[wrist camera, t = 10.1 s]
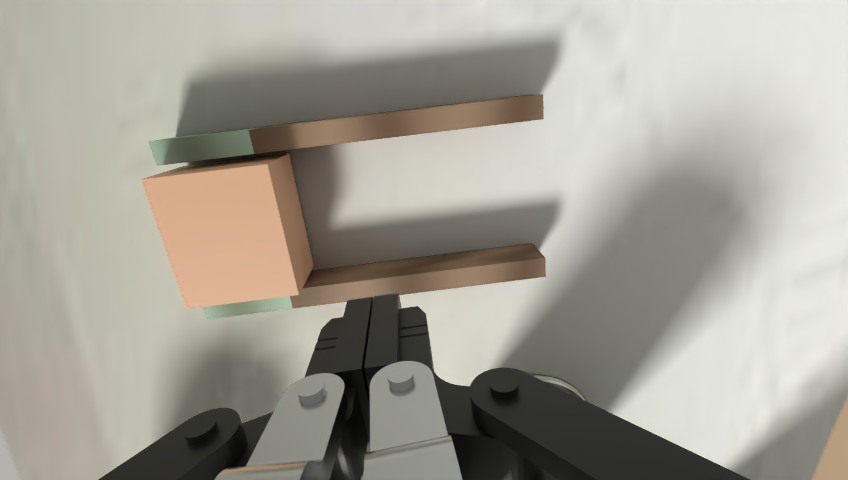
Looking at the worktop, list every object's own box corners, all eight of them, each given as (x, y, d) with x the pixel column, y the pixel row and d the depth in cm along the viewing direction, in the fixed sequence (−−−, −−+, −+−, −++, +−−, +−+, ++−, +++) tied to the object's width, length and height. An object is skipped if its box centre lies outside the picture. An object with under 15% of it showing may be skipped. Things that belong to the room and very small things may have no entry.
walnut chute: (528, 94, 23) (543, 94, 21) (532, 260, 26) (545, 276, 24) (174, 137, 23) (148, 141, 20) (224, 299, 26) (207, 319, 24)
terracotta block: (289, 153, 23) (267, 164, 19) (313, 265, 26) (298, 295, 22) (183, 166, 23) (141, 179, 19) (218, 277, 25) (186, 309, 22)
